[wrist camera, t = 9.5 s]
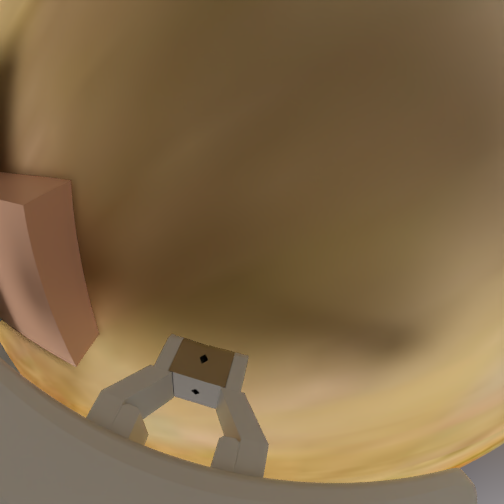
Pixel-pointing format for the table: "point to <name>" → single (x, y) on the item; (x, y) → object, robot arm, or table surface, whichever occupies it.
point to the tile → (43, 266)
